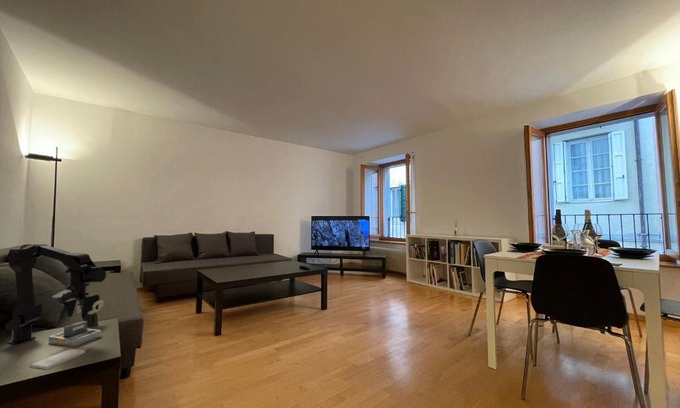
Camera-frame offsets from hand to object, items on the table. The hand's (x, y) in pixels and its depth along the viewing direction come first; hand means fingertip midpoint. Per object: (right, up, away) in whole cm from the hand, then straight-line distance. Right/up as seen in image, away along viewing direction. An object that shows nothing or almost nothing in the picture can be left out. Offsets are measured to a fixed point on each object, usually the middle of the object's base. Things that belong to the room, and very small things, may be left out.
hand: (76, 317), depth 125 cm
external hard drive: (+10, -10, -18) cm, 23 cm away
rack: (0, -10, 0) cm, 10 cm away
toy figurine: (-8, -11, +16) cm, 21 cm away
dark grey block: (0, -9, 0) cm, 9 cm away
